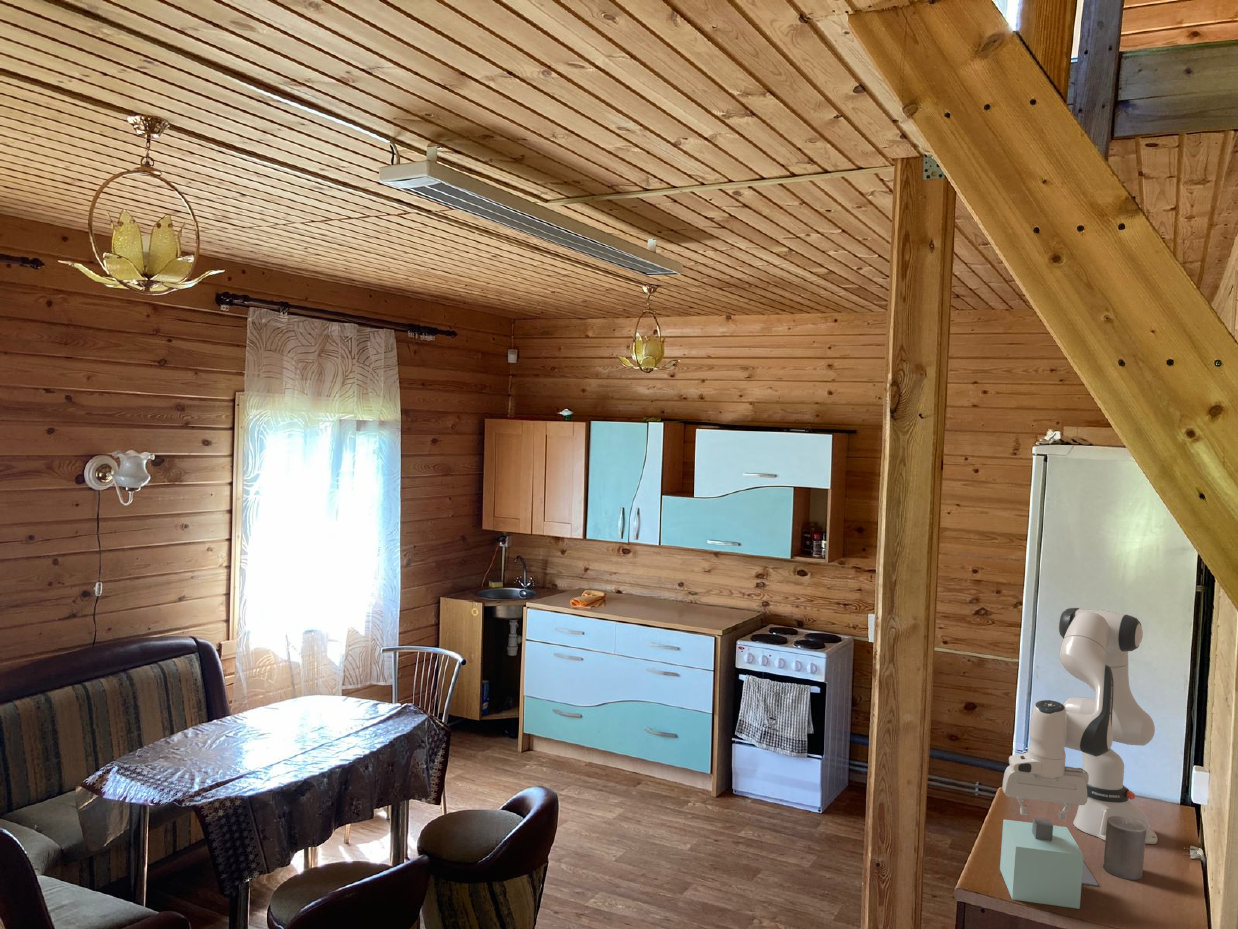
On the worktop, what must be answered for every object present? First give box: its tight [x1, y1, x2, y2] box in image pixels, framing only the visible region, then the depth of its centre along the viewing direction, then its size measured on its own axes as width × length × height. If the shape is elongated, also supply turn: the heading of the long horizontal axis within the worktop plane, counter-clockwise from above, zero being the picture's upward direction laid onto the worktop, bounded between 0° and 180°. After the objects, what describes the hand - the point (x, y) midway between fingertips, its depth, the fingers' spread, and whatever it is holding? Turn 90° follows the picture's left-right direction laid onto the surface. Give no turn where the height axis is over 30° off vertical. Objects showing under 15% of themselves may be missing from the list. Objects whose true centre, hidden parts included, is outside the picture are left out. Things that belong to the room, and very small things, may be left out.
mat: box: [1081, 860, 1100, 887], centre depth 258 cm, size 19×19×1 cm
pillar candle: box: [1102, 816, 1146, 881], centre depth 255 cm, size 10×10×15 cm
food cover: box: [999, 817, 1084, 910], centre depth 243 cm, size 16×16×18 cm
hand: (1042, 816), depth 243 cm, fingers open, 8 cm apart
